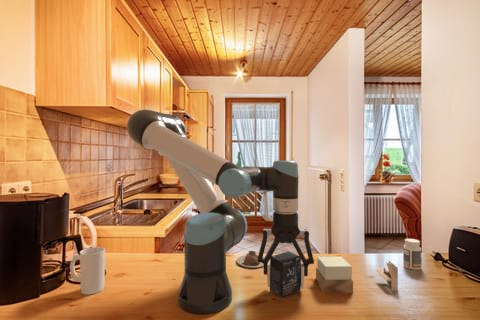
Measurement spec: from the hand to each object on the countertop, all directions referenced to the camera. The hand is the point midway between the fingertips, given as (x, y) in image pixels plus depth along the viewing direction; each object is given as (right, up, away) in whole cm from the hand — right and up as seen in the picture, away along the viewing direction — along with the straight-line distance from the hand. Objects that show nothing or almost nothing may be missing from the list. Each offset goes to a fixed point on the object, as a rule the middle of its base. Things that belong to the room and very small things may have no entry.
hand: (285, 285), depth 81 cm
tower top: (+16, +2, +3) cm, 16 cm away
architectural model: (+34, -2, +3) cm, 34 cm away
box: (0, -2, 0) cm, 2 cm away
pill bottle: (+50, -2, +18) cm, 53 cm away
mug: (-60, -2, 0) cm, 60 cm away
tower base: (+16, -2, +4) cm, 16 cm away
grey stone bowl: (-9, -2, +22) cm, 24 cm away
